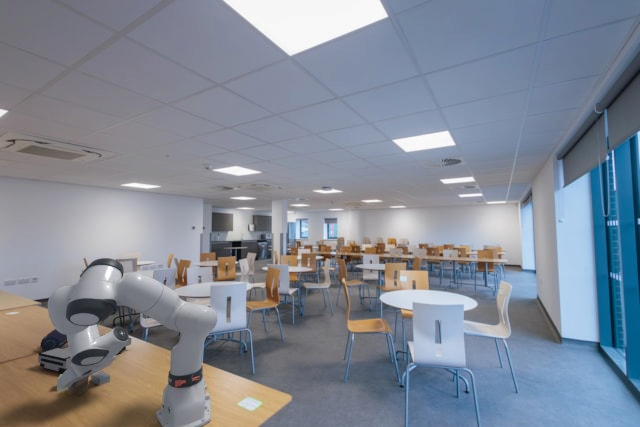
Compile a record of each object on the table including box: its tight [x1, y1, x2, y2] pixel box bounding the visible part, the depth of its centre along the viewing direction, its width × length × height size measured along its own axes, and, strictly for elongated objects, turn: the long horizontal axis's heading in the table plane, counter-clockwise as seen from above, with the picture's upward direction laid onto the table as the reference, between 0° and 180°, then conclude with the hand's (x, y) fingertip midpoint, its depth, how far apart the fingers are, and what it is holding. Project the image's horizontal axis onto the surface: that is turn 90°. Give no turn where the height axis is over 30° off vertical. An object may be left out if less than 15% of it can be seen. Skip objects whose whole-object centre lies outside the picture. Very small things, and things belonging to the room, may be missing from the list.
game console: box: [37, 334, 132, 373], centre depth 150 cm, size 21×32×8 cm, turn 161°
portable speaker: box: [40, 328, 68, 351], centre depth 168 cm, size 25×10×10 cm, turn 25°
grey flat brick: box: [90, 370, 111, 387], centre depth 127 cm, size 8×4×3 cm, turn 60°
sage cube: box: [56, 373, 68, 392], centre depth 122 cm, size 5×5×5 cm
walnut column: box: [67, 376, 89, 397], centre depth 118 cm, size 4×4×8 cm
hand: (77, 381), depth 118 cm, fingers closed on walnut column, 4 cm apart
